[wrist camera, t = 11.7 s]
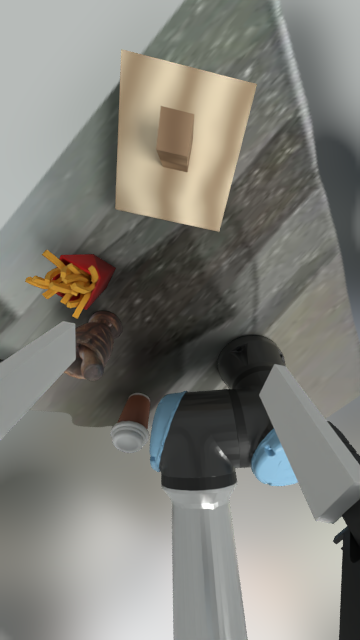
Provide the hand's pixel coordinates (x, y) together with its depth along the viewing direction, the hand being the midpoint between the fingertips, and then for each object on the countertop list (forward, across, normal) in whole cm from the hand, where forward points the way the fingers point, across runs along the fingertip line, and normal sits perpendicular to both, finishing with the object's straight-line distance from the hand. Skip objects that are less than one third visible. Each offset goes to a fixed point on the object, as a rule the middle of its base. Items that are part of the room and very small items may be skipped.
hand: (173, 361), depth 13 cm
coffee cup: (+30, +5, +37) cm, 48 cm away
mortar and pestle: (+29, +14, +13) cm, 35 cm away
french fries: (+28, +17, +1) cm, 33 cm away
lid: (+22, +4, -17) cm, 28 cm away
